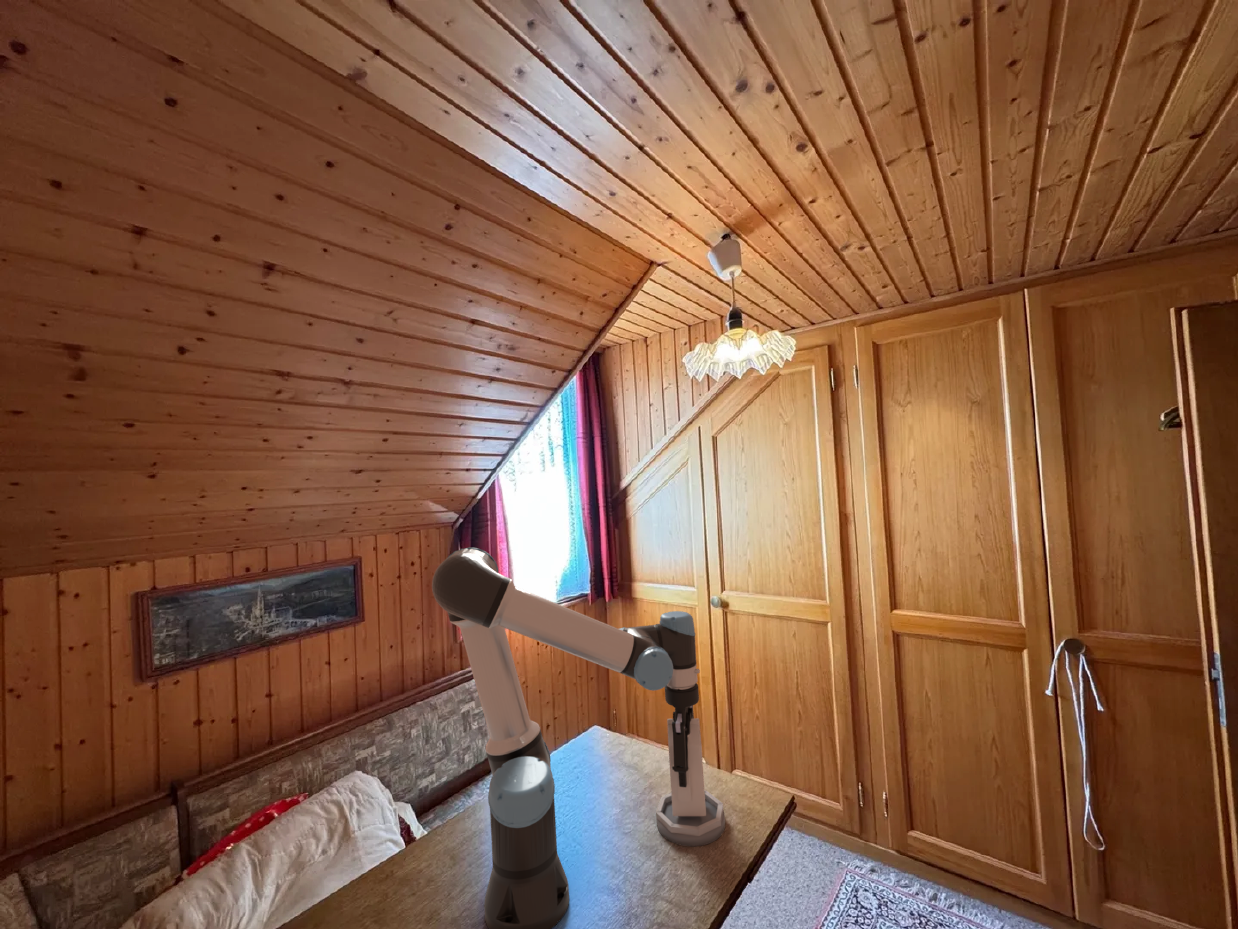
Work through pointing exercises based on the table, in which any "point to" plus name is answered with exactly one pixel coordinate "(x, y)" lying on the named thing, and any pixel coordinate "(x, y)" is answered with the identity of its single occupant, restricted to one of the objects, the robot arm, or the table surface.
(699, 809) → the milk carton
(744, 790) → the table surface
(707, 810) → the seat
